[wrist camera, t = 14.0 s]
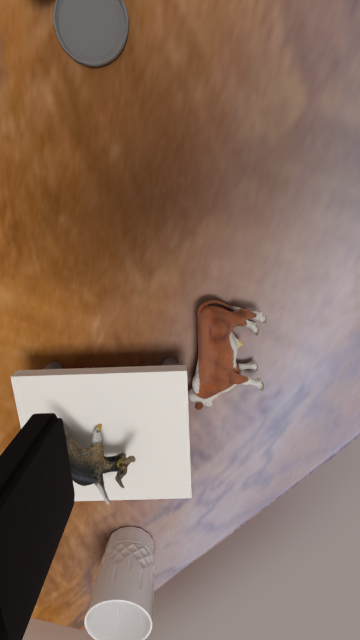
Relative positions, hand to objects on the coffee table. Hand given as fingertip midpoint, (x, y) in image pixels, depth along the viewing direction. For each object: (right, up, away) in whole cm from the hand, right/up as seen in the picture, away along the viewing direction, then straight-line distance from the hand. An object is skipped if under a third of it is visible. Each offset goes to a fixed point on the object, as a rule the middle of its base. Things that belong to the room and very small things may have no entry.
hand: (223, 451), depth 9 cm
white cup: (-8, -29, +38) cm, 49 cm away
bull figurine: (+8, 0, +28) cm, 29 cm away
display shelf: (-9, -8, +32) cm, 34 cm away
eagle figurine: (-11, -9, +26) cm, 30 cm away
